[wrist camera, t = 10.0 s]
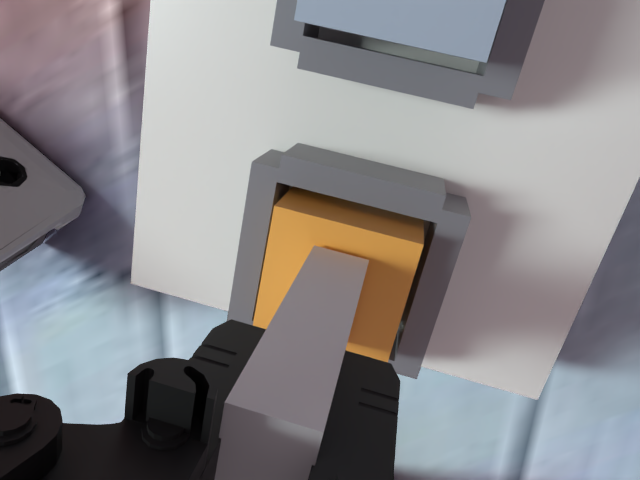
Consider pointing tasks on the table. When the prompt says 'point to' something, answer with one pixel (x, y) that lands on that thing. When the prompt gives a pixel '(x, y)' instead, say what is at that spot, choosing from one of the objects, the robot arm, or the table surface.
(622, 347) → the table surface
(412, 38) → the grey button
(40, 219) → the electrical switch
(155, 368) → the robot arm
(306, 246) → the orange button
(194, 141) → the switch panel
